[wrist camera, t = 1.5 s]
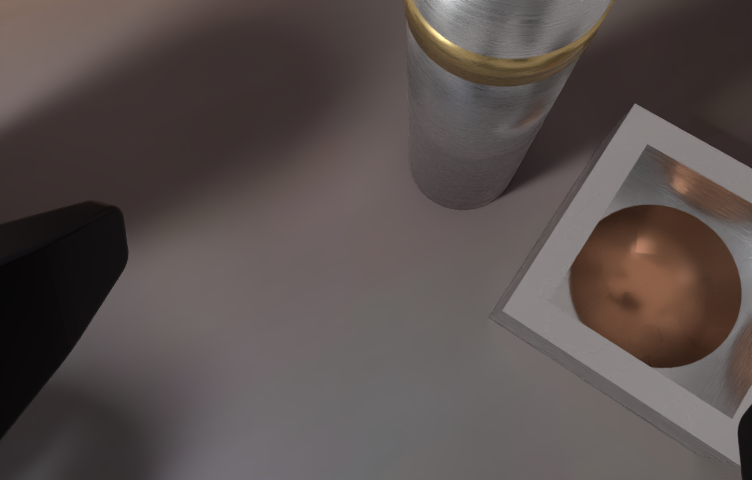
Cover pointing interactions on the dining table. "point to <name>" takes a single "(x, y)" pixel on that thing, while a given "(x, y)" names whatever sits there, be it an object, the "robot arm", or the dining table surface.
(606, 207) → the white square flat box
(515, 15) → the tube
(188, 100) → the dining table surface
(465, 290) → the dining table surface
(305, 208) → the dining table surface
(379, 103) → the dining table surface
